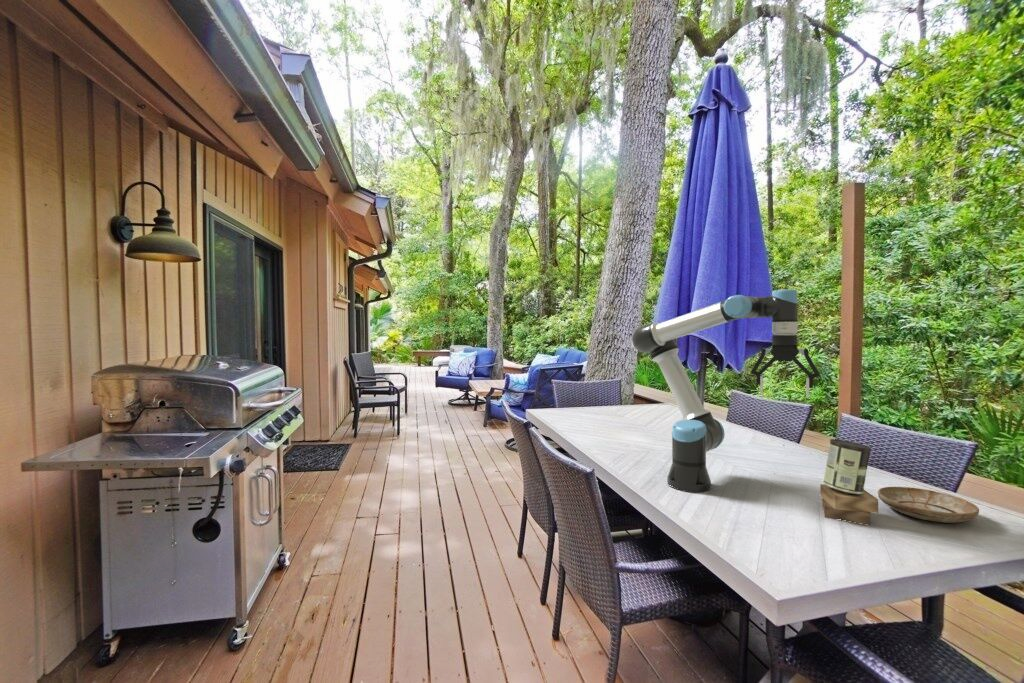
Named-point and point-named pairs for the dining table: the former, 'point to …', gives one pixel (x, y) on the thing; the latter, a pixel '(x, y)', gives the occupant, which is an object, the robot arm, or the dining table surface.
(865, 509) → the top block
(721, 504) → the dining table surface
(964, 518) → the wooden bowl
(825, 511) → the lower block
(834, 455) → the coffee can
